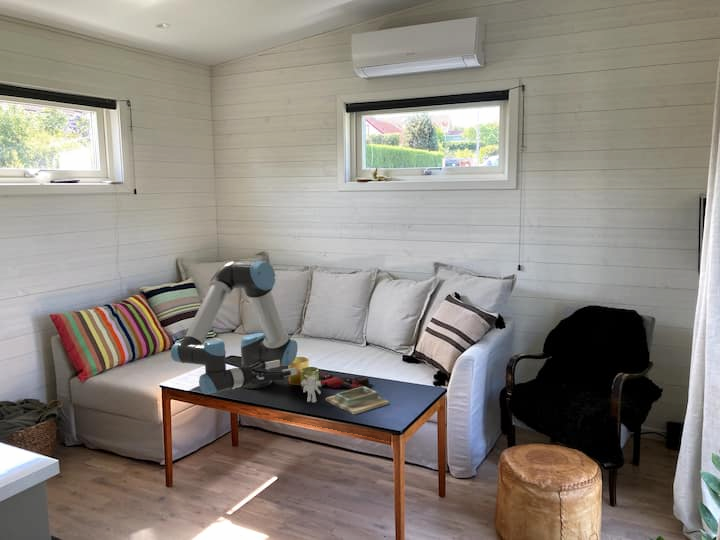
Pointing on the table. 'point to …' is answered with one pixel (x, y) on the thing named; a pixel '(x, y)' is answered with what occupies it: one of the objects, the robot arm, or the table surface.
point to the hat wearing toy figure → (311, 387)
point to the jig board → (357, 400)
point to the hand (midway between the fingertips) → (287, 366)
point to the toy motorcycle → (342, 381)
